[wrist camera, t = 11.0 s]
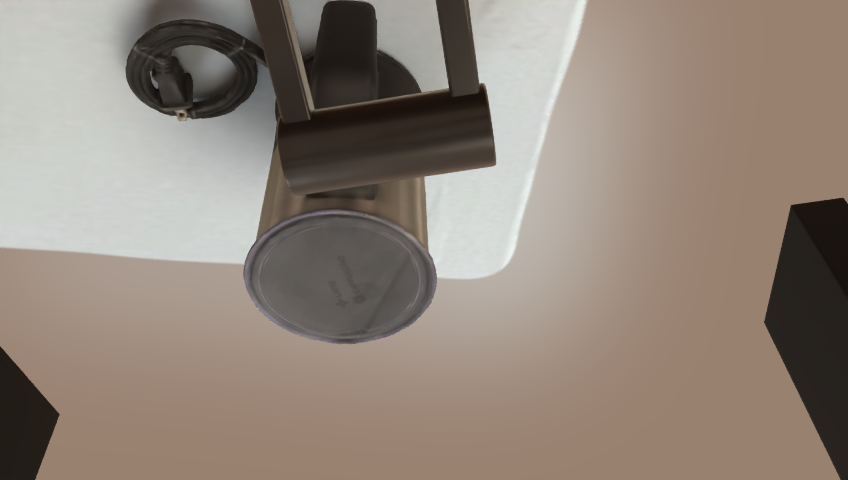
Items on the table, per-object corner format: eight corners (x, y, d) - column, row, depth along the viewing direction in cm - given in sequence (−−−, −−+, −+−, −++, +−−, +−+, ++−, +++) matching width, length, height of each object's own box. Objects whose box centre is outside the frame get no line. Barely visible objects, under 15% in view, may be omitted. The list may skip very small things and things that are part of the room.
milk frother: (440, 155, 49) (456, 328, 38) (215, 205, 51) (168, 383, 40) (380, -57, 39) (378, 92, 29) (106, 16, 42) (7, 180, 31)
